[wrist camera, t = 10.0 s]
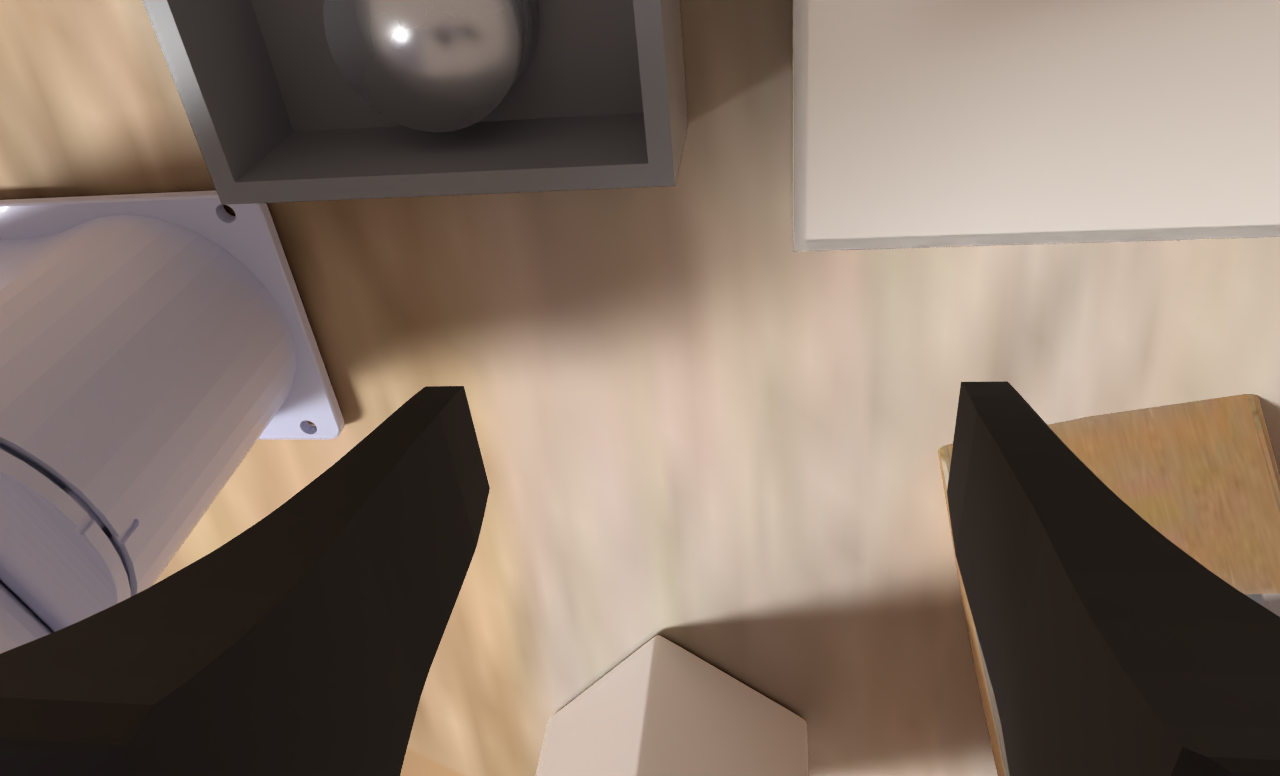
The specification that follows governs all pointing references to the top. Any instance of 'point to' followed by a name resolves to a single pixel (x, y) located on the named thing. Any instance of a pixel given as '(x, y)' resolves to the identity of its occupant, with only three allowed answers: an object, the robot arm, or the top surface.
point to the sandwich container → (1177, 496)
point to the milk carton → (672, 723)
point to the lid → (1033, 122)
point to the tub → (412, 159)
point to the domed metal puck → (432, 55)
